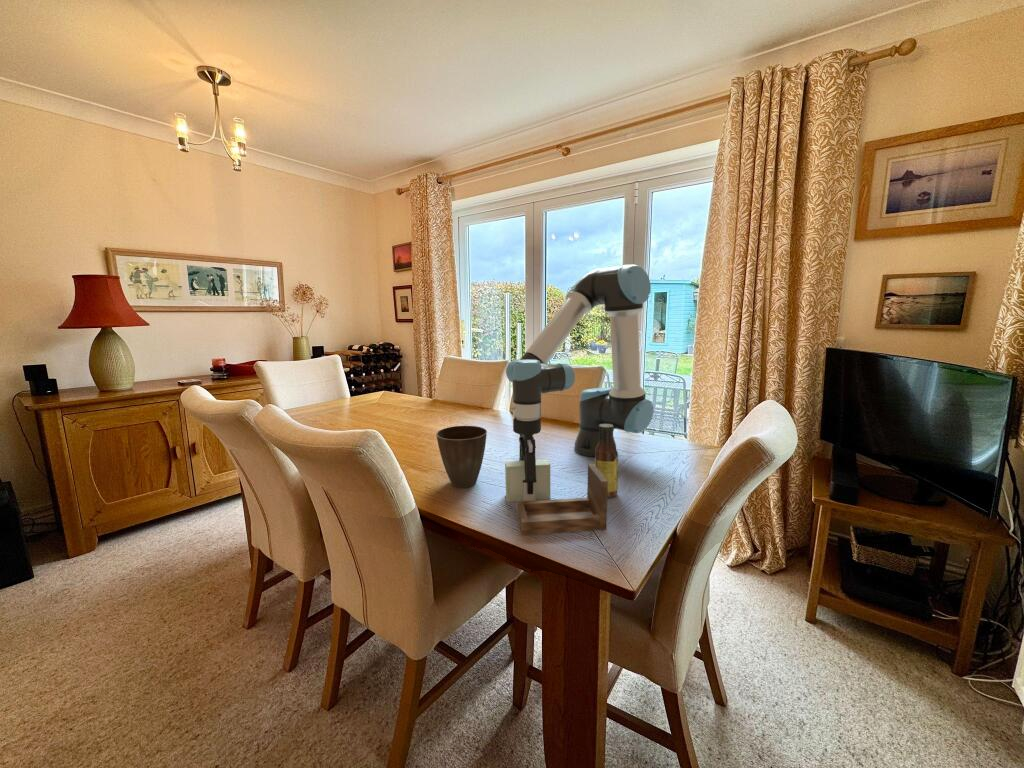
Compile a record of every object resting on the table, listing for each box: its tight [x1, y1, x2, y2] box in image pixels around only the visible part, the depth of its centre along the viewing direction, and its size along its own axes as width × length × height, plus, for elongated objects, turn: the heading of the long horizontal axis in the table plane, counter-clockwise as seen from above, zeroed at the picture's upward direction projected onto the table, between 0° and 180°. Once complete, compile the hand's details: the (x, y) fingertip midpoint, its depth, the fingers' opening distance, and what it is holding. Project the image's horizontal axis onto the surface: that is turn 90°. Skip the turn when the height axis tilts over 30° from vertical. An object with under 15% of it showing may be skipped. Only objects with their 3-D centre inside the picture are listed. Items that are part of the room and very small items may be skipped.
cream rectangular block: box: [504, 458, 551, 502], centre depth 113 cm, size 12×4×10 cm, turn 96°
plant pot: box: [435, 425, 488, 489], centre depth 122 cm, size 15×15×16 cm
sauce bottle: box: [594, 424, 619, 499], centre depth 113 cm, size 7×6×20 cm
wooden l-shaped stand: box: [516, 463, 608, 536], centre depth 99 cm, size 20×11×12 cm, turn 96°
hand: (527, 496), depth 113 cm, fingers open, 9 cm apart
